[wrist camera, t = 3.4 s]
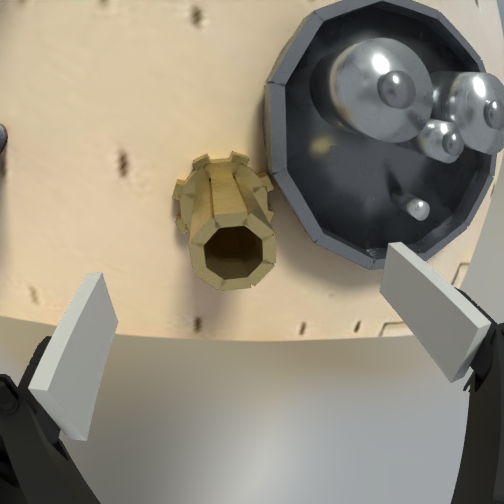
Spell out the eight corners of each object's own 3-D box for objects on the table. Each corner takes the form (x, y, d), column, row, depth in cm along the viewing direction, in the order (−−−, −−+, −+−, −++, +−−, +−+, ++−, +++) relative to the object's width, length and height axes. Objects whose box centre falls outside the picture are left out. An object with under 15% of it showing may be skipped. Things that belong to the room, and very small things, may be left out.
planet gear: (181, 247, 25) (172, 319, 17) (169, 157, 22) (147, 189, 13) (271, 238, 26) (302, 304, 18) (269, 149, 23) (307, 175, 14)
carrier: (266, 263, 27) (288, 320, 20) (256, -14, 16) (279, -60, 9) (461, 240, 30) (505, 273, 23) (476, 40, 19) (530, 40, 12)
